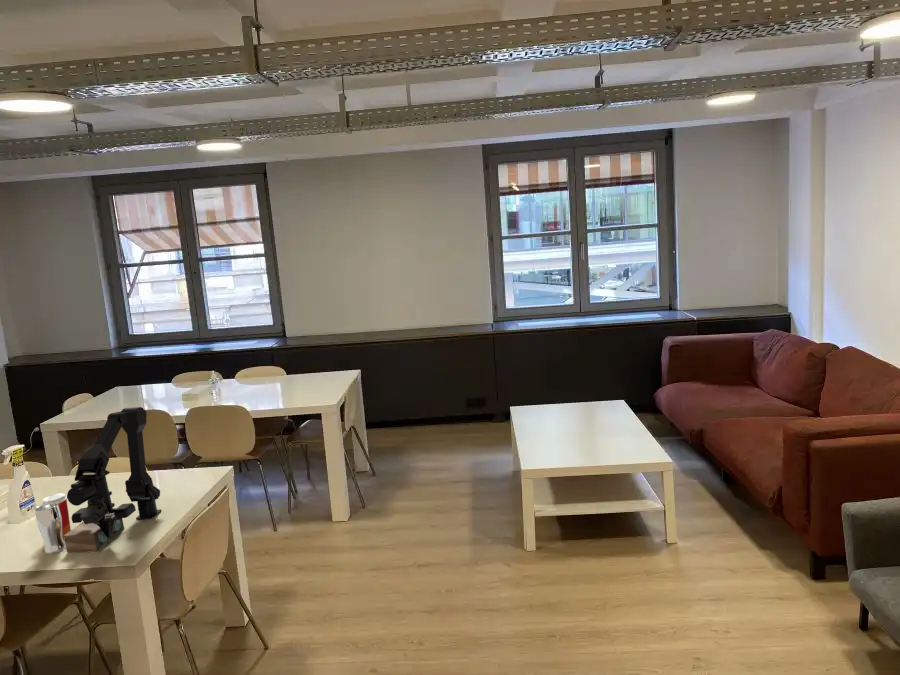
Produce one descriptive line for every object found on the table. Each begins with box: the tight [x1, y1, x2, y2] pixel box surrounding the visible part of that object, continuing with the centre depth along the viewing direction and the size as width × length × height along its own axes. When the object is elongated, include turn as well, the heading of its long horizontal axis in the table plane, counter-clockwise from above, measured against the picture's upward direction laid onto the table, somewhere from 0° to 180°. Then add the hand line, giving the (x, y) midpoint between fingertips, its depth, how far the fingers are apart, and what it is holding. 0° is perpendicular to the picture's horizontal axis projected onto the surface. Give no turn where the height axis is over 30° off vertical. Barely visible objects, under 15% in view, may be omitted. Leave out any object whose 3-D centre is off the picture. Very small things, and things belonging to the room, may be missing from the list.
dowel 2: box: [113, 520, 121, 531], centre depth 230 cm, size 4×9×4 cm, turn 86°
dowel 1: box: [98, 531, 108, 542], centre depth 222 cm, size 4×9×4 cm, turn 86°
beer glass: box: [34, 503, 66, 555], centre depth 221 cm, size 7×7×15 cm
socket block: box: [63, 518, 125, 554], centre depth 226 cm, size 16×10×6 cm, turn 176°
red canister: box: [41, 492, 72, 539], centre depth 233 cm, size 8×8×14 cm
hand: (109, 537), depth 222 cm, fingers closed
